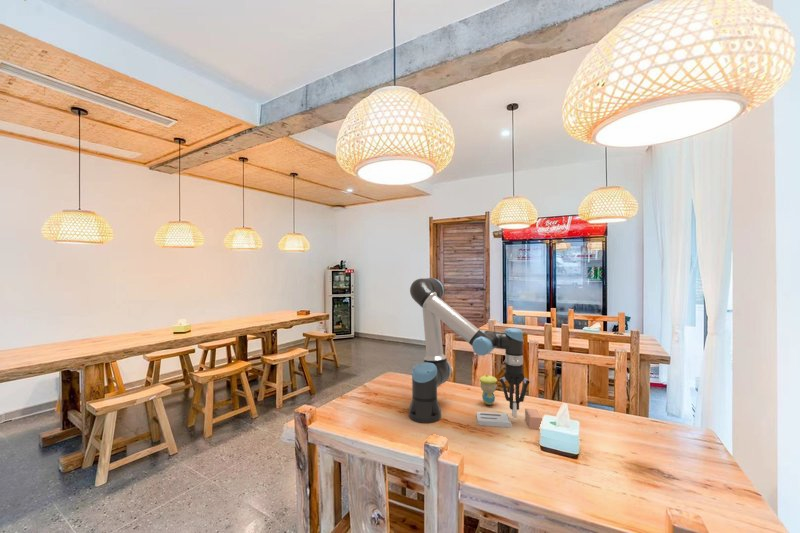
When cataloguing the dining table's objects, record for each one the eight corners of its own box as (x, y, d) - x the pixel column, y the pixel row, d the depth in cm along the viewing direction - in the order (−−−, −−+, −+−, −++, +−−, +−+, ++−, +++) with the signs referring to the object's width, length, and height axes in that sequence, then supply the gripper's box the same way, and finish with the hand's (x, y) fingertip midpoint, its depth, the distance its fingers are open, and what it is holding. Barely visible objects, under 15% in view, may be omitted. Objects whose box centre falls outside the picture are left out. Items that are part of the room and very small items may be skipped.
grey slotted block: (478, 425, 140) (477, 420, 140) (476, 416, 149) (476, 411, 149) (511, 427, 138) (511, 422, 138) (507, 418, 147) (507, 413, 147)
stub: (529, 428, 137) (529, 416, 137) (525, 419, 145) (525, 408, 146) (542, 429, 136) (541, 417, 136) (536, 420, 145) (536, 408, 145)
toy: (499, 407, 158) (499, 377, 159) (481, 407, 158) (481, 377, 159) (495, 401, 166) (495, 372, 166) (478, 401, 166) (477, 372, 167)
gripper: (500, 365, 140) (500, 419, 140) (531, 366, 138) (531, 421, 137) (497, 360, 147) (498, 411, 147) (527, 362, 145) (527, 414, 145)
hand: (514, 416), depth 142 cm, fingers closed
